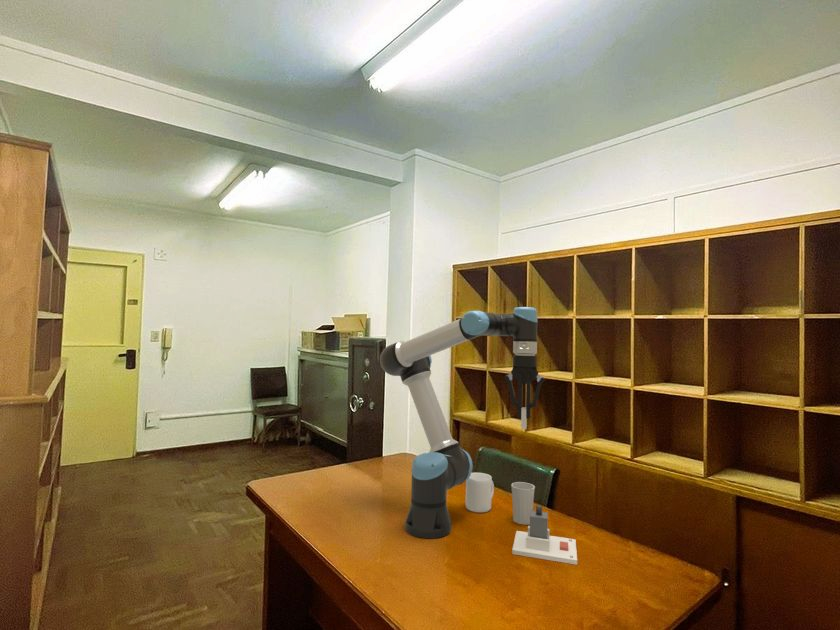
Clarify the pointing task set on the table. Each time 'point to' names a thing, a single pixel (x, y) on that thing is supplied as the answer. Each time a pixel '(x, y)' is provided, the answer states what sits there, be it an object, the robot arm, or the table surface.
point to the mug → (479, 492)
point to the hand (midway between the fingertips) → (523, 428)
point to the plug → (538, 523)
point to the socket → (545, 547)
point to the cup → (522, 501)
